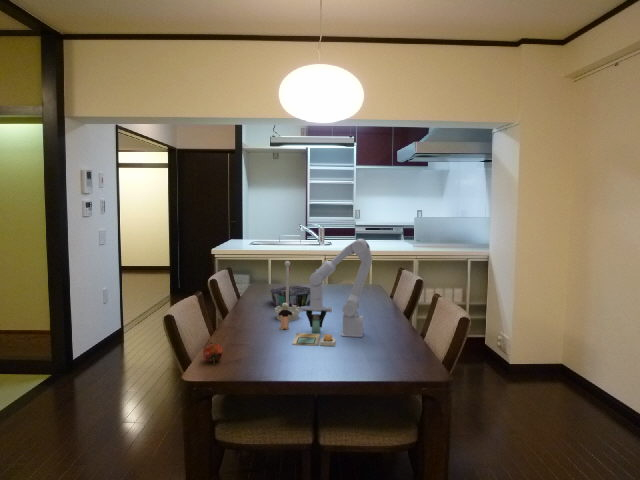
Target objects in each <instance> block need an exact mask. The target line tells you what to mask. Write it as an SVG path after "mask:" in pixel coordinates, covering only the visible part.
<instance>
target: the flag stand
mask: <svg viewBox="0 0 640 480" xmlns="http://www.w3.org/2000/svg"><path fill="white" fill-rule="evenodd" d="M284 266H285V287H286V303H287V304H288V305H289V286H290V279H289V278H290V271H291V268H290V266H291V262H290V261H289V260H285V262H284ZM281 310H283V307H281V306H276V307H274V314H275V315H276V319H277V320H278V321H281V316H282V315H280V317H279V318H277V316H278V314H279V313H280V311H281ZM287 310H289V311H290V312H292V313H293V316H294V317H293V318H292V317H291V315H288V316H289V322H290V321H296V320H298V318H299V314H300V313H301V307H297V306H295V305H292V307H288V309H287Z"/></svg>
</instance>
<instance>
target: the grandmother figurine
mask: <svg viewBox="0 0 640 480" xmlns="http://www.w3.org/2000/svg"><path fill="white" fill-rule="evenodd" d="M282 307H283V310H281V311H280V313H279V314H278V316H277V315H276V319H277V318H279V317H280V315H282V316H281V320H280V327H279V330H280V331H281V330H283V331H284V330H286V331H287V330H290V328H289V325H290V321H289V316H288V315H291V317H292V318H293V317H294V316H293V313H292V312H290V311H289V310H287V309H288V307H289V305H288V304H287V303H283V304H282Z"/></svg>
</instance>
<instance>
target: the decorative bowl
mask: <svg viewBox="0 0 640 480" xmlns="http://www.w3.org/2000/svg"><path fill="white" fill-rule="evenodd" d="M310 288H311V287H310V286H304V285H303V286H302V285H289V307H292V305H295V306H297V307H300V308H301V306H302V307H304V306H310ZM269 294H270V295H271V299H272V301H273V304H274V306H276V307H277V306H281V307H282V304H283V303H286V286H279V287H275V288H271V289H269Z"/></svg>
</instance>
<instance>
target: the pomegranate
mask: <svg viewBox="0 0 640 480" xmlns="http://www.w3.org/2000/svg"><path fill="white" fill-rule="evenodd" d="M209 343H210V344H208V345H206V346H205V347H204V349H203V351H202V352H203V355H202V356H203V358H204V360H205V361H206V362H208V363H210V362H213V365H214V366H215V365H216V364H215V362H217V361H220V360H221V359H222V357H223V355H224V349H223V347H222V346H221V345H220V344H219V343H215V342H214V343H213V342H212V341H211V342H209Z"/></svg>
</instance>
